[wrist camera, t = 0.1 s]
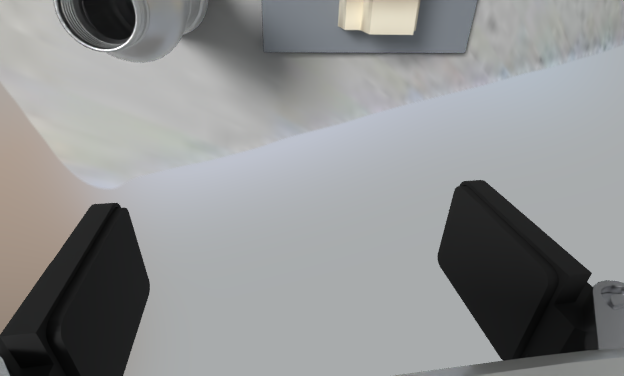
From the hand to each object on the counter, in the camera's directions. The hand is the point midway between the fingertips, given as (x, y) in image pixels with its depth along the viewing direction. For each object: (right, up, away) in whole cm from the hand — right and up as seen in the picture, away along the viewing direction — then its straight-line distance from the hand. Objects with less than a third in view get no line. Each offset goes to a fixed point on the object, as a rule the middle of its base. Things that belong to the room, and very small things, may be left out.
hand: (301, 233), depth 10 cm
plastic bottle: (-13, +20, +23) cm, 33 cm away
